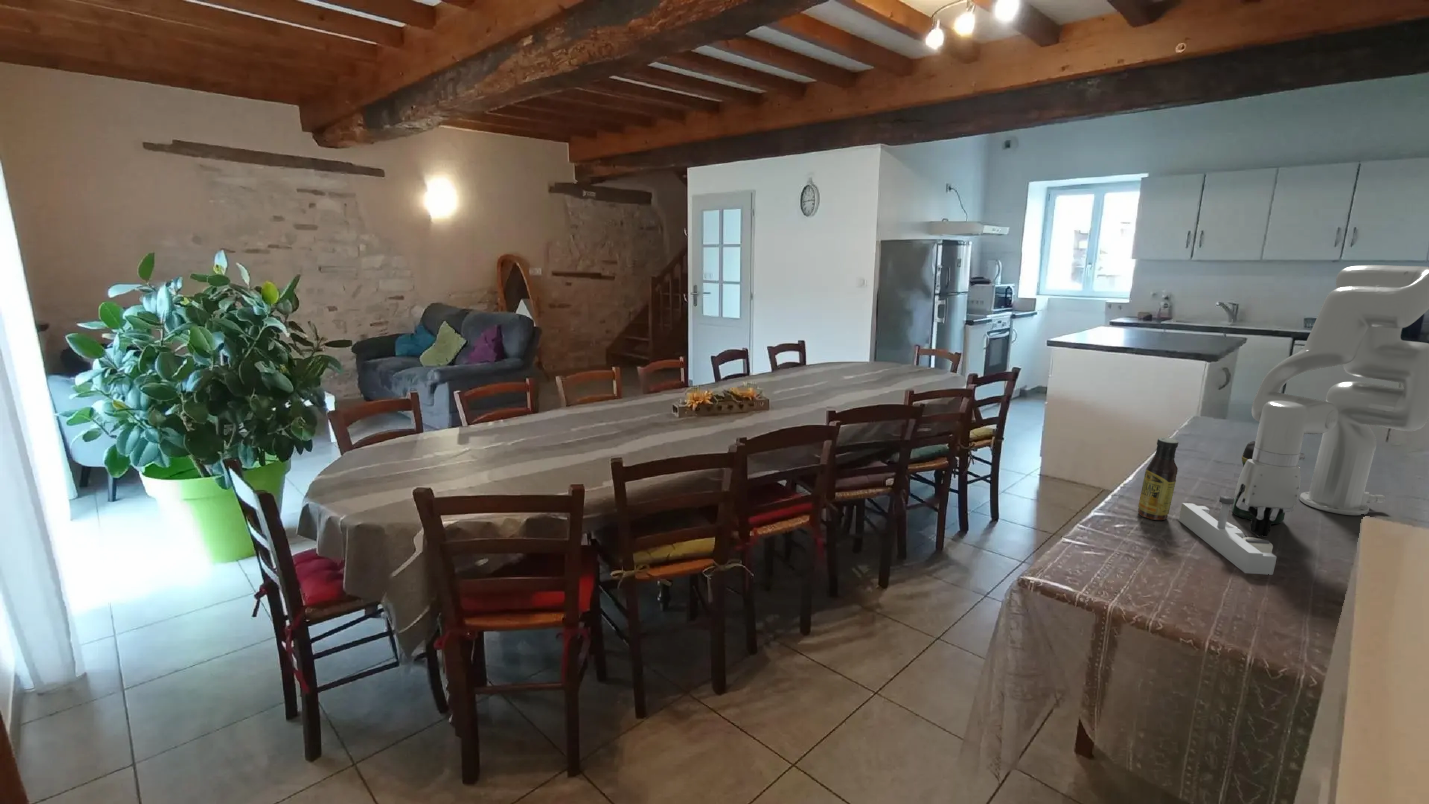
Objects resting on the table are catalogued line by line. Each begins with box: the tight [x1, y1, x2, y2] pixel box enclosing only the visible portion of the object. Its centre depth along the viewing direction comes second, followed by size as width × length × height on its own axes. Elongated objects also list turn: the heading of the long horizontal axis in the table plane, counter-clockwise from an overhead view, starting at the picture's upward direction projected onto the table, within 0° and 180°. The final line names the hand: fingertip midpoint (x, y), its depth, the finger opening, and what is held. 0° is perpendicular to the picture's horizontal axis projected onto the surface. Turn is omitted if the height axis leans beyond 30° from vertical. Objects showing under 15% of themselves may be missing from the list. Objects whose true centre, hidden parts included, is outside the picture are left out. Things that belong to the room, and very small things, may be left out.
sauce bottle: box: [1137, 437, 1179, 521], centre depth 152 cm, size 6×6×20 cm
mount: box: [1178, 495, 1277, 576], centre depth 138 cm, size 5×25×12 cm, turn 170°
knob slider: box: [1242, 536, 1274, 554], centre depth 132 cm, size 5×5×4 cm
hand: (1258, 533), depth 143 cm, fingers closed
